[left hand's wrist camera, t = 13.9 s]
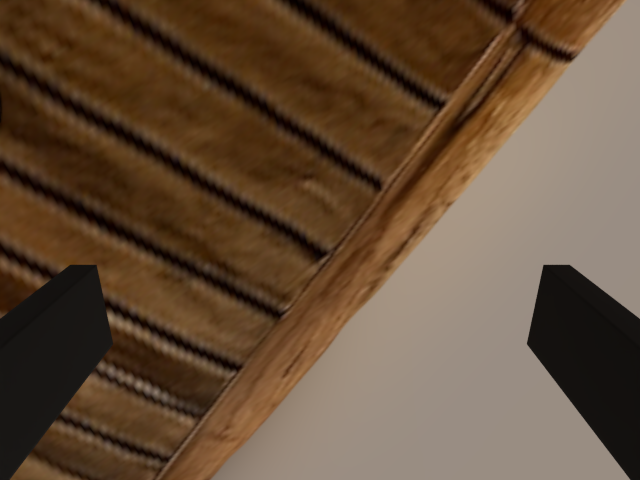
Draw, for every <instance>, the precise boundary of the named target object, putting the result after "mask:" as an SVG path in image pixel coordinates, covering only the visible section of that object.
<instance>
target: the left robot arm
mask: <svg viewBox="0 0 640 480" xmlns="http://www.w3.org/2000/svg"><path fill="white" fill-rule="evenodd" d="M0 121H1V102H0ZM112 345H113V341H112V337H111V332H110V327H109V322H108V317H107V313H106V308H105V303H104V298H103V294H102V289H101V284H100V279H99V275H98V270H97V265H70V266H68V267H67V268H66V269H64V270H63V271H62V272H61V273H59V274H58V275H57V276H55V277H54V278H53V279H51V280H50V281H49V282H48V283H46V284H45V285H44V286H42V287H41V288H40V289H38V290H37V291H36V292H35V293H33V294H32V295H31V296H29V297H28V298H27V299H25V300H24V301H23V302H22V303H20V304H19V305H18V306H16V307H15V308H14V309H12V310H11V311H10V312H9V313H7V314H6V315H5V316H3V317H2V318H1V319H0V480H10V478H11V477H12V476H13V474H14V473H15V472H16V471H17V469H18V468H19V467H20V465H21V464H22V463H23V461H24V460H25V459H26V457H27V456H28V455H29V453H30V452H31V451H32V450H33V448H34V447H35V446H36V444H37V443H38V442H39V440H40V439H41V438H42V436H43V435H44V434H45V433H46V431H47V430H48V429H49V427H50V426H51V425H52V423H53V422H54V421H55V419H56V418H57V417H58V416H59V414H60V413H61V412H62V410H63V409H64V408H65V406H66V405H67V404H68V402H69V401H70V400H71V398H72V397H73V396H74V395H75V393H76V392H77V391H78V389H79V388H80V387H81V385H82V384H83V383H84V381H85V380H86V379H87V378H88V376H89V375H90V374H91V372H92V371H93V370H94V368H95V367H96V366H97V364H98V363H99V362H100V360H101V359H102V358H103V357H104V355H105V354H106V353H107V351H108V350H109V349H110V347H111V346H112ZM527 345H528V346H529V347H530V349H531V350H532V351H533V353H534V354H535V355H536V357H537V358H538V359H539V360H540V362H541V363H542V364H543V366H544V367H545V368H546V370H547V371H548V372H549V374H550V375H551V376H552V378H553V379H554V380H555V381H556V383H557V384H558V385H559V387H560V388H561V389H562V391H563V392H564V393H565V395H566V396H567V397H568V398H569V400H570V401H571V402H572V404H573V405H574V406H575V408H576V409H577V410H578V412H579V413H580V414H581V416H582V417H583V418H584V419H585V421H586V422H587V423H588V425H589V426H590V427H591V429H592V430H593V431H594V433H595V434H596V435H597V436H598V438H599V439H600V440H601V442H602V443H603V444H604V446H605V447H606V448H607V450H608V451H609V452H610V453H611V455H612V456H613V457H614V459H615V460H616V461H617V463H618V464H619V465H620V467H621V468H622V469H623V470H624V472H625V473H626V474H627V476H628V477H629V478H630V480H640V319H639V318H638V317H637V316H635V315H634V314H633V313H631V312H630V311H629V310H628V309H626V308H625V307H624V306H622V305H621V304H620V303H618V302H617V301H616V300H615V299H613V298H612V297H611V296H609V295H608V294H607V293H605V292H604V291H603V290H601V289H600V288H599V287H598V286H596V285H595V284H594V283H592V282H591V281H590V280H589V279H587V278H586V277H585V276H583V275H582V274H581V273H579V272H578V271H577V270H576V269H574V268H573V267H572V266H570V265H543V270H542V275H541V279H540V284H539V289H538V294H537V299H536V303H535V308H534V313H533V317H532V322H531V327H530V332H529V337H528V341H527Z"/></svg>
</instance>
